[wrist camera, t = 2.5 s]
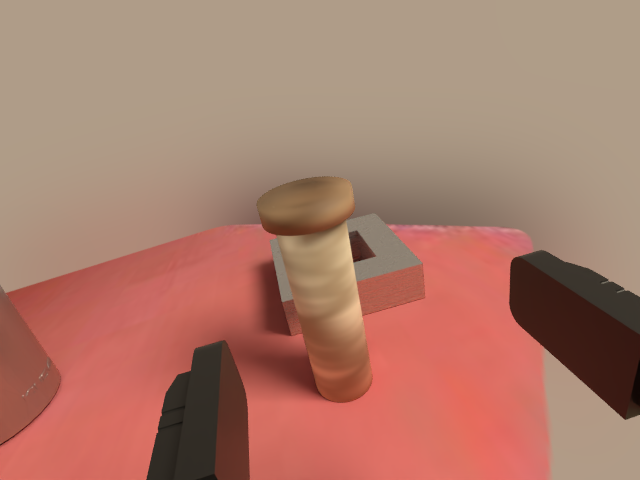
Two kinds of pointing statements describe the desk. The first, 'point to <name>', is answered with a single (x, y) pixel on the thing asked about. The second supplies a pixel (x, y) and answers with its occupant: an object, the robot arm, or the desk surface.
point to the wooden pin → (322, 279)
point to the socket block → (367, 269)
